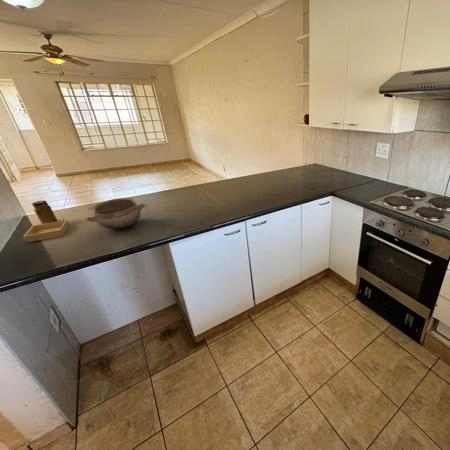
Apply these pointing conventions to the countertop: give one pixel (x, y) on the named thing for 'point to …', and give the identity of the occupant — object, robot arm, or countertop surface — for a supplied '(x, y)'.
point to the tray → (46, 231)
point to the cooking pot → (116, 213)
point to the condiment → (45, 212)
